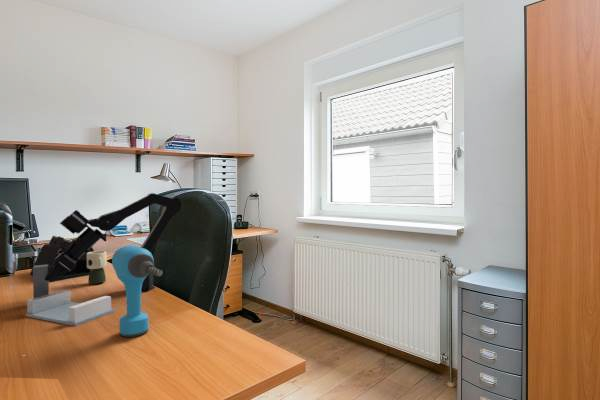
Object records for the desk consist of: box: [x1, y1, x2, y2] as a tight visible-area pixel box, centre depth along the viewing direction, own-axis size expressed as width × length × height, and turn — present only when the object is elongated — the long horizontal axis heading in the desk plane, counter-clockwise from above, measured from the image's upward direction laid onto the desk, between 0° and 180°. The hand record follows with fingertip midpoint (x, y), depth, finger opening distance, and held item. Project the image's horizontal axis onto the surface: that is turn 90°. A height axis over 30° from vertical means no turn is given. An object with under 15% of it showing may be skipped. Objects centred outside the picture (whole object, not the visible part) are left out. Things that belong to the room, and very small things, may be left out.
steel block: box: [32, 264, 50, 298], centre depth 119 cm, size 4×4×13 cm
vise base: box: [25, 295, 116, 327], centre depth 110 cm, size 22×13×5 cm, turn 69°
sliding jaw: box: [26, 289, 72, 314], centre depth 113 cm, size 2×12×4 cm, turn 159°
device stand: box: [29, 243, 95, 283], centre depth 163 cm, size 22×22×15 cm
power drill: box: [111, 245, 163, 338], centre depth 91 cm, size 28×9×23 cm, turn 43°
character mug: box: [87, 250, 108, 285], centre depth 146 cm, size 11×7×13 cm, turn 44°
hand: (46, 277), depth 120 cm, fingers open, 9 cm apart
